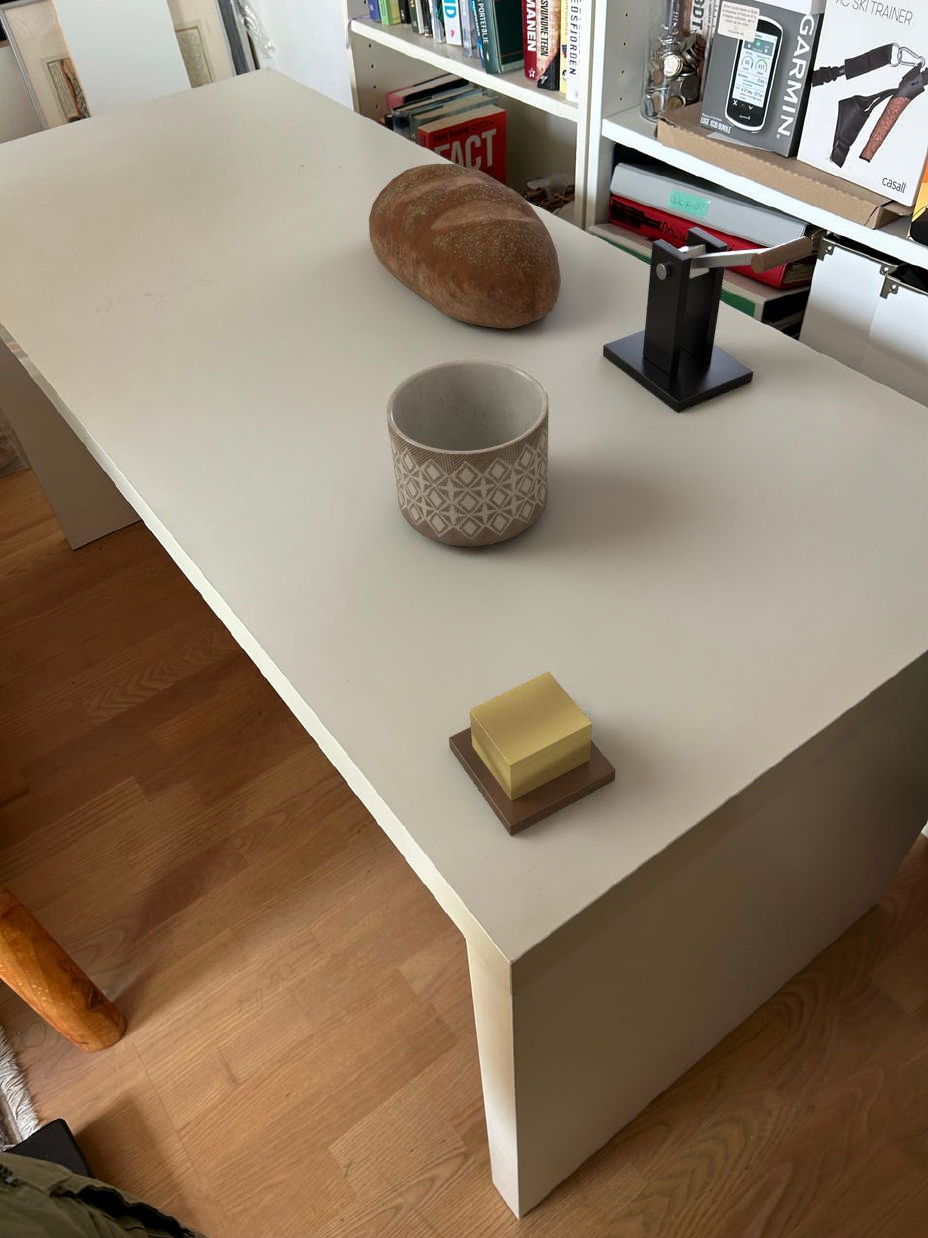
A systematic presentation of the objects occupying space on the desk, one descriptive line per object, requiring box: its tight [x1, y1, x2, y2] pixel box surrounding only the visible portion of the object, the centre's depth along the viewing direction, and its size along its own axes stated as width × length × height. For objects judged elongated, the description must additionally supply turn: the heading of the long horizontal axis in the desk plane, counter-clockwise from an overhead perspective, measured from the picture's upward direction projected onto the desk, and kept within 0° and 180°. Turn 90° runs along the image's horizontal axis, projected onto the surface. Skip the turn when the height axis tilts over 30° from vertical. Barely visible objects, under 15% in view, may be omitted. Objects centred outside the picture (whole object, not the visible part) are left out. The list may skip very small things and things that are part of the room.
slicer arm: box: [677, 235, 813, 279], centre depth 82 cm, size 14×5×2 cm, turn 30°
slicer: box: [602, 226, 755, 413], centre depth 90 cm, size 12×9×13 cm
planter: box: [385, 358, 550, 547], centre depth 79 cm, size 13×13×10 cm
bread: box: [368, 163, 562, 330], centre depth 106 cm, size 16×29×11 cm, turn 32°
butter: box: [448, 671, 617, 837], centre depth 62 cm, size 8×8×5 cm
